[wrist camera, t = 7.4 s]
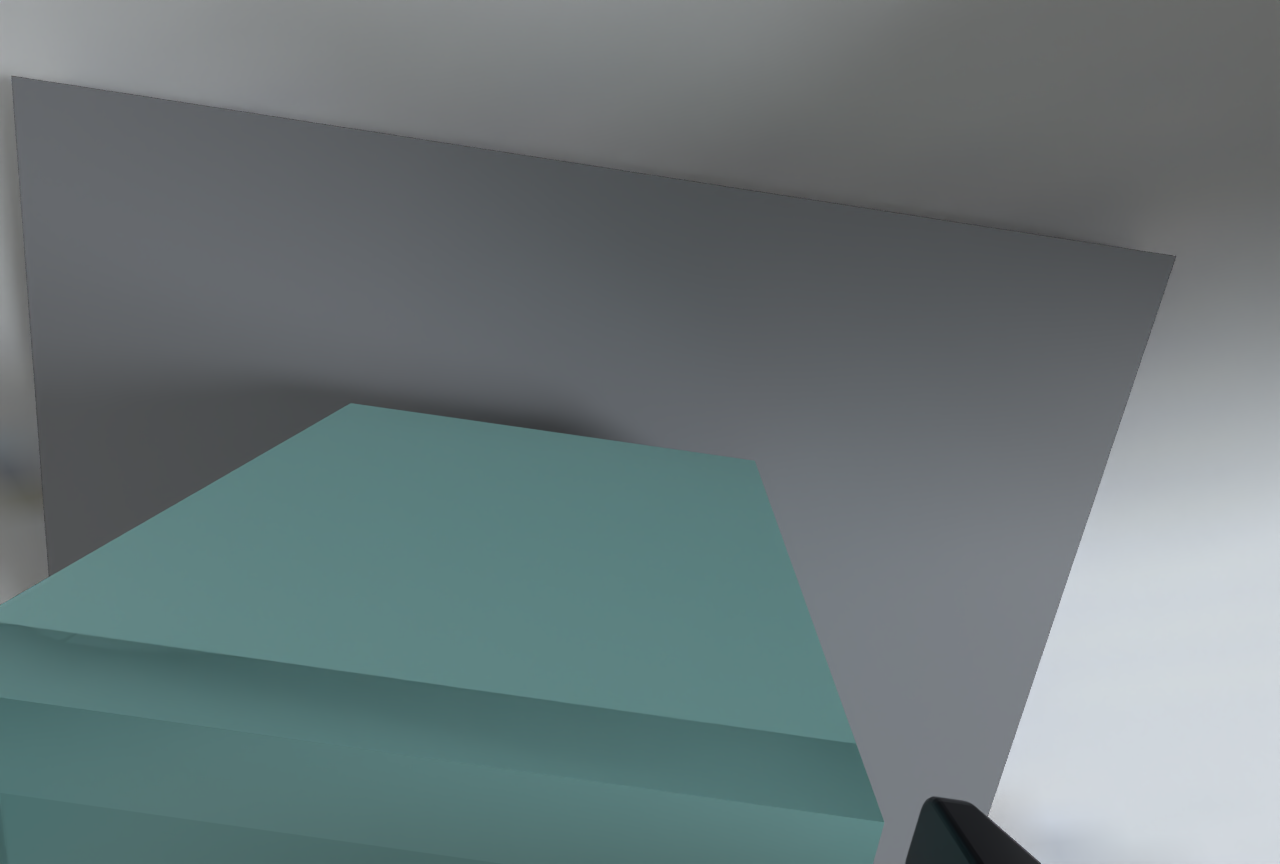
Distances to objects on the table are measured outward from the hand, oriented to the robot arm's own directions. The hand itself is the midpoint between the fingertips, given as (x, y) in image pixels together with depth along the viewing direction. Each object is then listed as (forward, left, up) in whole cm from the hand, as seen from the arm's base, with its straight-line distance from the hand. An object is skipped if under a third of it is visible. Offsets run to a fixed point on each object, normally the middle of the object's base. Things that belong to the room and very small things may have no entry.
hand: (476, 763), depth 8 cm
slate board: (0, +7, -5) cm, 9 cm away
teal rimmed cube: (0, 0, -3) cm, 3 cm away
